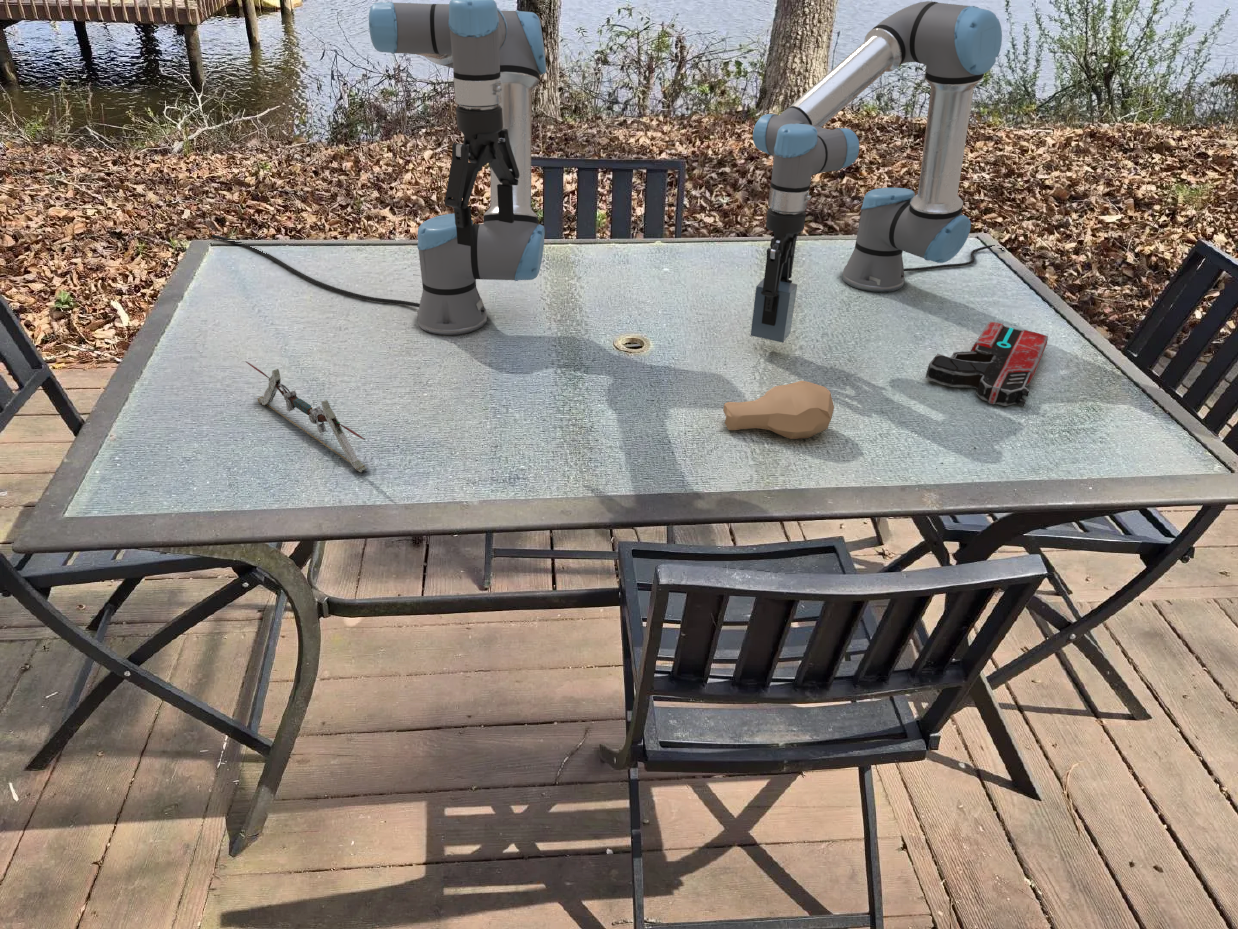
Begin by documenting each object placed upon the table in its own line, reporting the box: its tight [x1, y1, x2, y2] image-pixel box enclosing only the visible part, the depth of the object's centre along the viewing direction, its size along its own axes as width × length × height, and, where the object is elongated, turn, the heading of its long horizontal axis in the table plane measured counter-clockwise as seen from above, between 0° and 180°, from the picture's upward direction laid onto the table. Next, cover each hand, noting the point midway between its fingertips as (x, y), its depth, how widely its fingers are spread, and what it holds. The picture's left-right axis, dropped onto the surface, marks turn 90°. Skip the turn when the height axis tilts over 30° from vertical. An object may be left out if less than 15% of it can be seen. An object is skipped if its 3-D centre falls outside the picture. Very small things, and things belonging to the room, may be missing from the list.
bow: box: [244, 360, 368, 473], centre depth 153 cm, size 39×2×10 cm, turn 47°
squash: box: [722, 380, 835, 440], centre depth 159 cm, size 11×20×9 cm, turn 90°
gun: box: [925, 320, 1049, 407], centre depth 183 cm, size 4×31×19 cm
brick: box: [750, 278, 798, 344], centre depth 183 cm, size 7×5×11 cm
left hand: (486, 232), depth 154 cm, fingers open, 13 cm apart
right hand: (772, 318), depth 184 cm, fingers closed on brick, 5 cm apart
